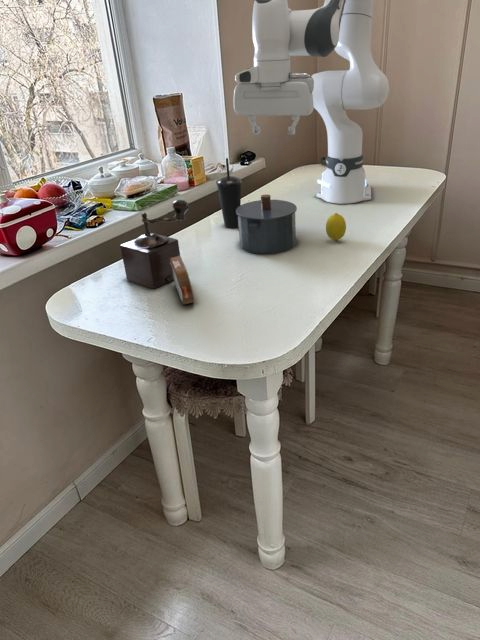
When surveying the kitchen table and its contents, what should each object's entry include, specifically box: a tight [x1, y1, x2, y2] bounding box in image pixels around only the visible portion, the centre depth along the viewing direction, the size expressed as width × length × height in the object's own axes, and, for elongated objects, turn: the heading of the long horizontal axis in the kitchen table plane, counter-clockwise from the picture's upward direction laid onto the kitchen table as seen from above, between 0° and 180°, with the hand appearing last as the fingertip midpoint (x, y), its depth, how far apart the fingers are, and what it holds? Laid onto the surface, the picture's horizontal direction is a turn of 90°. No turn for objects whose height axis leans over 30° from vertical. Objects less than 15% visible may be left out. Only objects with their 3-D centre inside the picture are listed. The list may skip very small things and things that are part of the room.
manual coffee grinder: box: [120, 199, 190, 290], centre depth 132 cm, size 16×11×18 cm
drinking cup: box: [215, 157, 243, 229], centre depth 160 cm, size 8×8×20 cm
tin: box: [170, 254, 195, 305], centre depth 123 cm, size 15×3×8 cm, turn 17°
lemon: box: [325, 212, 347, 242], centre depth 148 cm, size 6×6×8 cm
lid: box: [236, 194, 298, 220], centre depth 145 cm, size 17×17×5 cm
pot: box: [238, 212, 297, 255], centre depth 148 cm, size 16×21×10 cm
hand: (274, 134), depth 137 cm, fingers open, 8 cm apart
